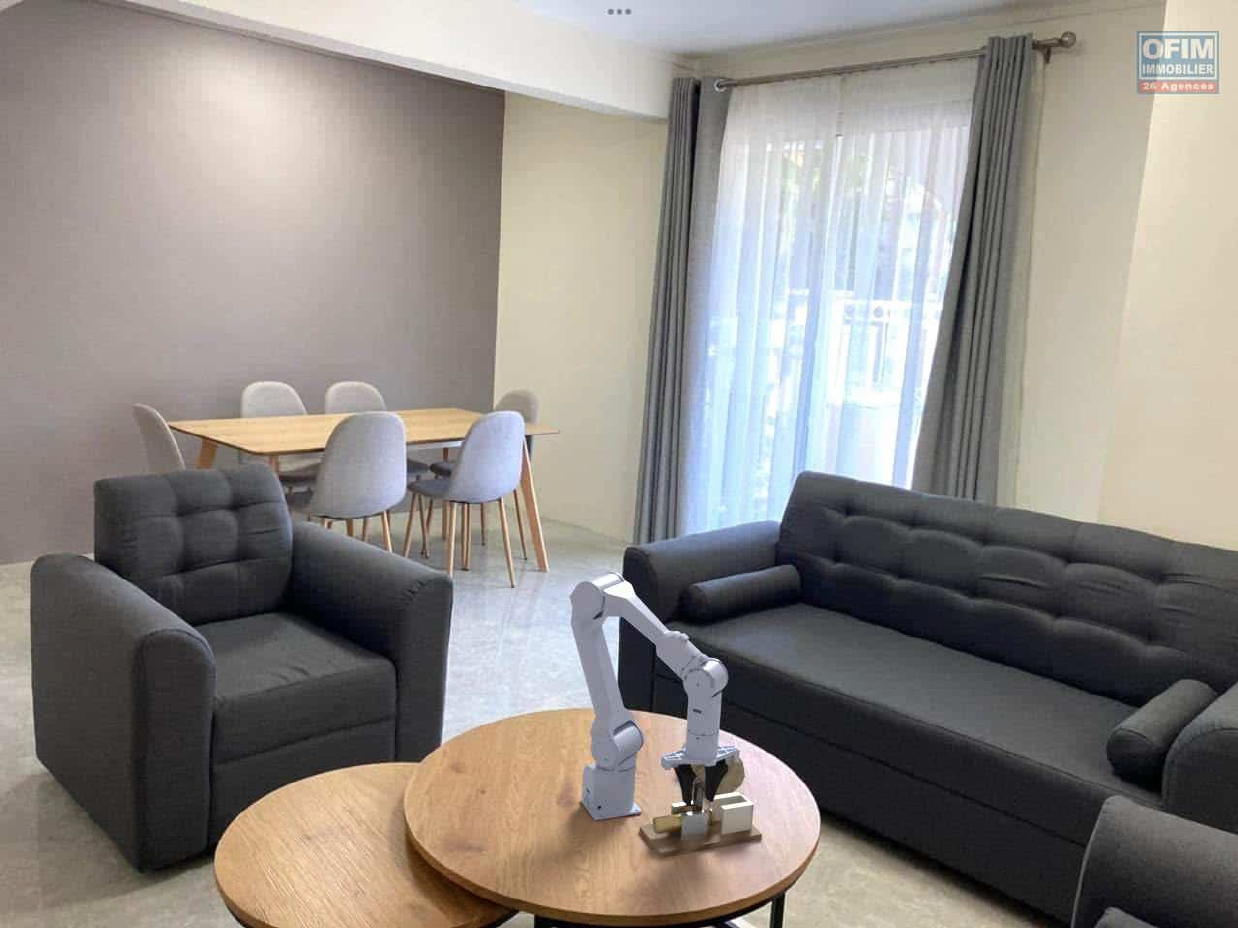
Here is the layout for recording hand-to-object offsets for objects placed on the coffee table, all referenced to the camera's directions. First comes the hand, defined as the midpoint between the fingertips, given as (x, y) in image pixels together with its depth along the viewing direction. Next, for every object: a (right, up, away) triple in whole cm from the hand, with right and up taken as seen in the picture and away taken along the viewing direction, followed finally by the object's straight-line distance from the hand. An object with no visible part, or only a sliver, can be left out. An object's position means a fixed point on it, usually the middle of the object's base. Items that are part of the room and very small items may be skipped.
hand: (697, 801), depth 177 cm
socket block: (+6, -7, +4) cm, 10 cm away
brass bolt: (-3, -5, 0) cm, 5 cm away
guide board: (+1, -7, +1) cm, 7 cm away
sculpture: (+4, -4, +22) cm, 23 cm away
